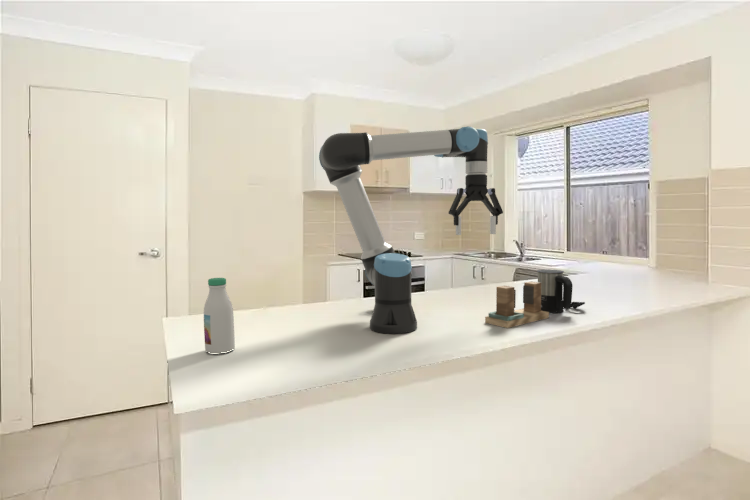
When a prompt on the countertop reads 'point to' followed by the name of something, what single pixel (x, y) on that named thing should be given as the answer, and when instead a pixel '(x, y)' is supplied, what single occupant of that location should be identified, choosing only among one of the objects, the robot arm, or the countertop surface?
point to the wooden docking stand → (522, 315)
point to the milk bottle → (218, 318)
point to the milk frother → (556, 291)
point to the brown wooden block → (505, 300)
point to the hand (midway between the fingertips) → (475, 234)
